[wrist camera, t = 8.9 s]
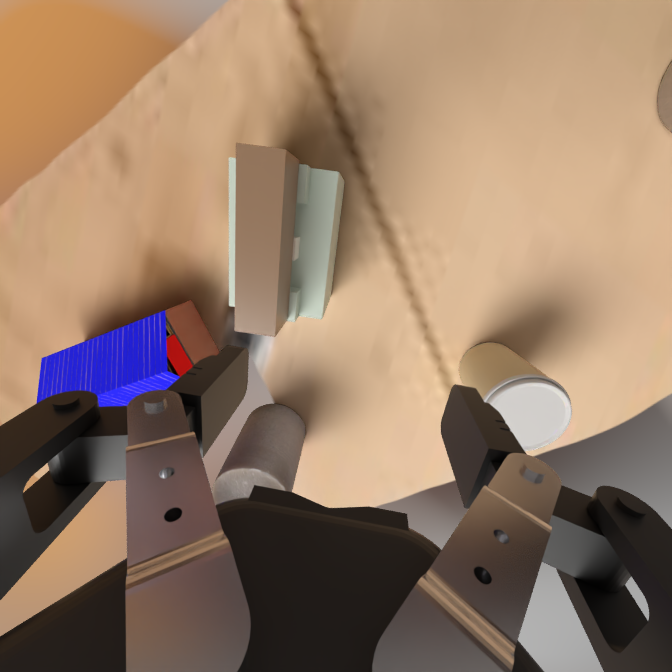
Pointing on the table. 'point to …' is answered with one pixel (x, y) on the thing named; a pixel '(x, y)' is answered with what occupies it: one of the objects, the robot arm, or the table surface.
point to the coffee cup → (517, 393)
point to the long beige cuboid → (264, 237)
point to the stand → (304, 239)
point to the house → (130, 358)
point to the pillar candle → (262, 454)
